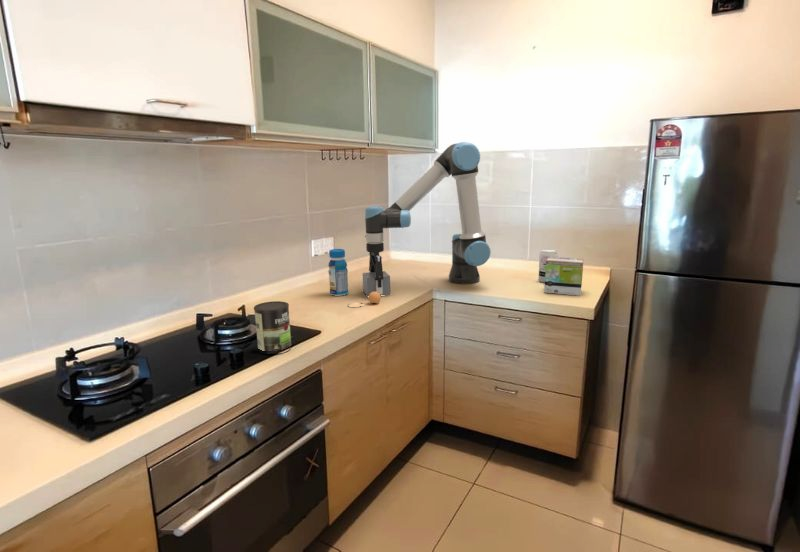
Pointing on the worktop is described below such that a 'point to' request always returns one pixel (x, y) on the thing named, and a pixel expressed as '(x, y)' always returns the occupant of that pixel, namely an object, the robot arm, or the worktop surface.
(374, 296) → the ball
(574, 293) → the tea box
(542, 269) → the white carton
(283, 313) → the coffee can
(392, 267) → the worktop surface
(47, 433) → the worktop surface
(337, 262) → the beverage bottle
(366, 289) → the gray rectangular box
